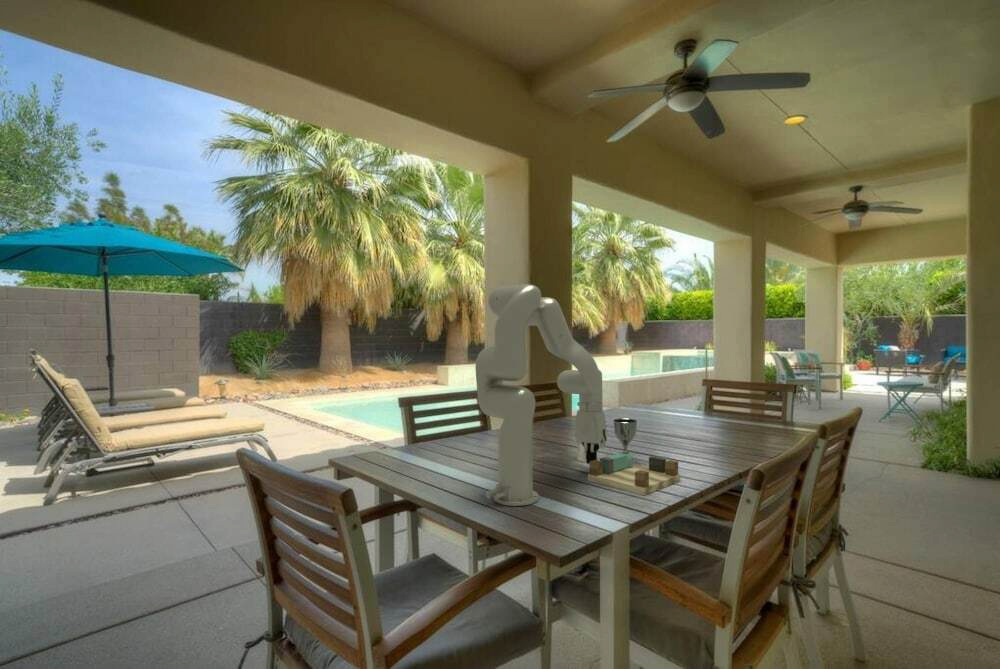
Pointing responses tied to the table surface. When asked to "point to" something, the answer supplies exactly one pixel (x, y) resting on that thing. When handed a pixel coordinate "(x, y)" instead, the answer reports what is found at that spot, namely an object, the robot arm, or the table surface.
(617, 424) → the silver goblet
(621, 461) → the leg
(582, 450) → the beer glass
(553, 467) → the table surface
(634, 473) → the seat
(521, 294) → the robot arm
